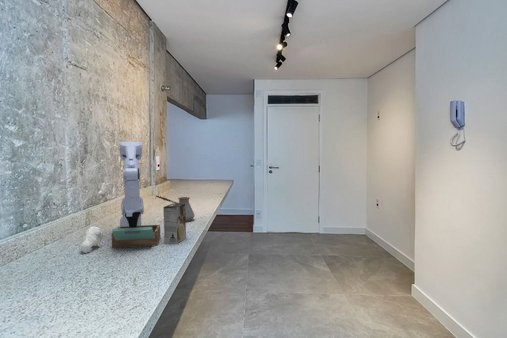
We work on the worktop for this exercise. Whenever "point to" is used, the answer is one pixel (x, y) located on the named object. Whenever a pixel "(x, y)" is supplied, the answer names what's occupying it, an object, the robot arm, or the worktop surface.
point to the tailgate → (133, 233)
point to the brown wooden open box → (138, 241)
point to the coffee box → (174, 223)
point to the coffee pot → (188, 209)
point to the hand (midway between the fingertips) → (133, 230)
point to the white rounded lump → (91, 239)
